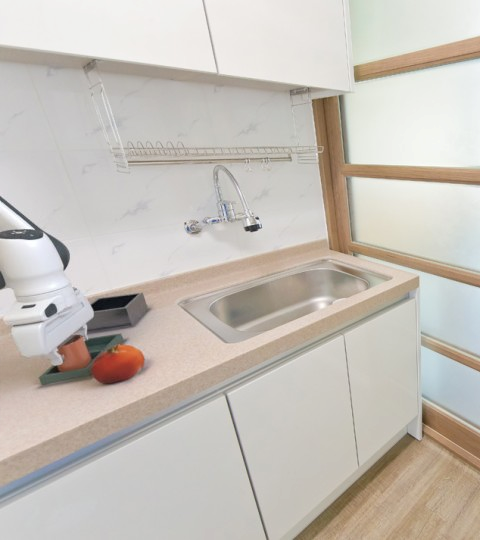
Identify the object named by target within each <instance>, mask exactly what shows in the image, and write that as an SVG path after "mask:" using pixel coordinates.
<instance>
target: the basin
mask: <svg viewBox="0 0 480 540" xmlns="http://www.w3.org/2000/svg"><path fill="white" fill-rule="evenodd" d="M89 303H90V305H91V307H92V309H93V311H94V317H93V318H92V319H91V320H89V321H88V322H87V323H86V325H87V334H88V335H89V334H95V333H101V332H107V331H113V330H120V329H126V328H133V327H134V326H135V325H136V324H137V323H138V322H139V320H141V318H142V317H143V316H144V315H145V314H146V313H147V312H148V311H149V308H148V305H147V301H146V298H145V295H144V292H135V293H128V294H119V295H113V296H112V295H111V296H105V297H97V298H96V299H95V300H93V301H92V302H89ZM87 334H86V335H87Z"/></svg>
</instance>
